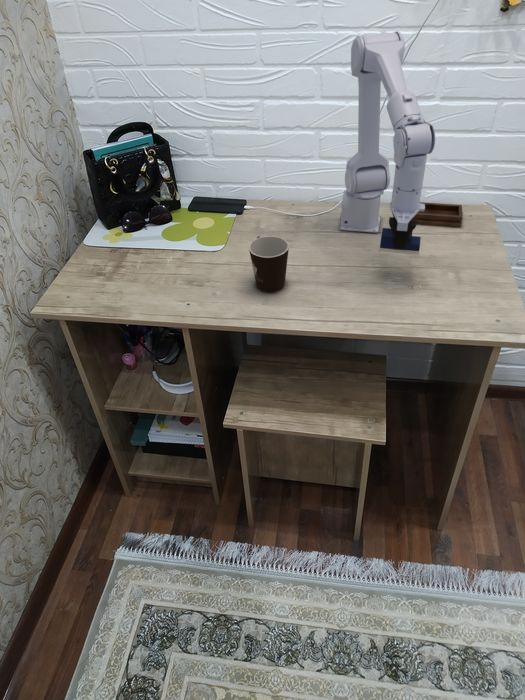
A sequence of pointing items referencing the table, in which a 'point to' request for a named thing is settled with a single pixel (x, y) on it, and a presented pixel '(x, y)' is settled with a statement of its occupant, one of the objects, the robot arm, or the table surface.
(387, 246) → the dark blue stepped block
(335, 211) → the table surface
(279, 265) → the coffee mug
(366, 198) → the robot arm
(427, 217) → the wooden serving tray
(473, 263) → the table surface
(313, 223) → the table surface
